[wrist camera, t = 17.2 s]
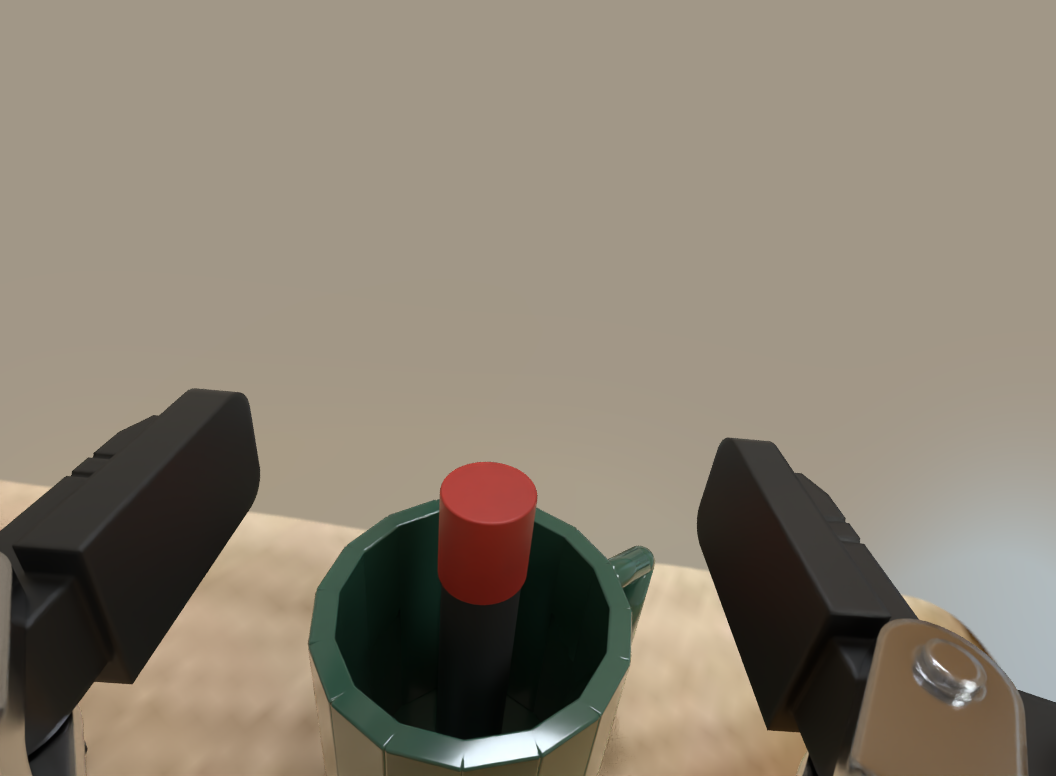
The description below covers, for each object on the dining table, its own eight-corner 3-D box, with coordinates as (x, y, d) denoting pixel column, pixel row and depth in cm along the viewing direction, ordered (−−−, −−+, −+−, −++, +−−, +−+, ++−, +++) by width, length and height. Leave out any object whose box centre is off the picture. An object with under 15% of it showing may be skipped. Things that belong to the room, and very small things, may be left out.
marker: (416, 790, 18) (418, 491, 12) (461, 736, 20) (483, 449, 14) (467, 839, 17) (496, 539, 11) (510, 778, 19) (556, 488, 13)
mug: (395, 1038, 14) (387, 863, 9) (305, 751, 19) (273, 552, 15) (686, 785, 20) (768, 601, 15) (553, 619, 25) (584, 448, 21)
